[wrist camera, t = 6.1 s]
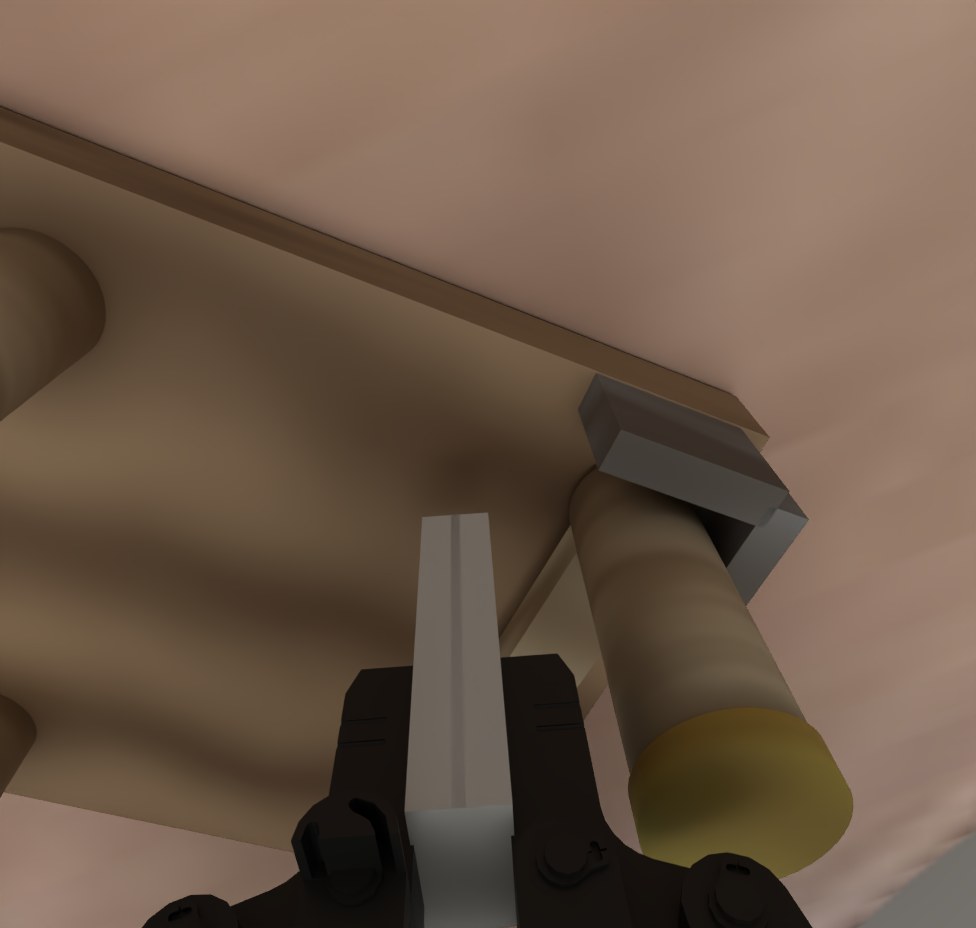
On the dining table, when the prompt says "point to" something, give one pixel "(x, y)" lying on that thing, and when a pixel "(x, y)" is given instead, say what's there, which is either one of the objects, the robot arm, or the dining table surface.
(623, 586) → the swing leg
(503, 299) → the dining table surface
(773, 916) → the robot arm
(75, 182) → the stool seat
